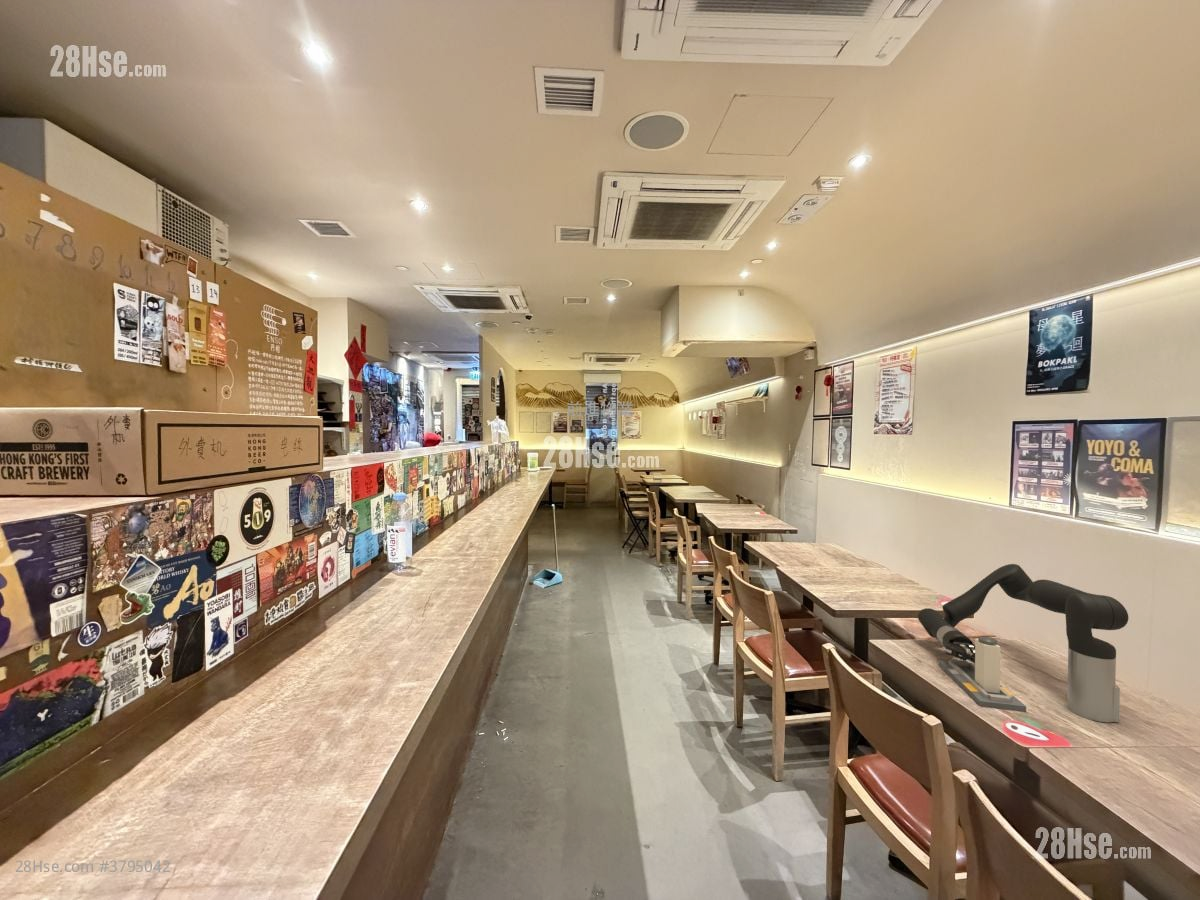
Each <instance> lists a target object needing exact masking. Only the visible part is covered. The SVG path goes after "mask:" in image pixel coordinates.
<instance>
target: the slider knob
mask: <svg viewBox="0 0 1200 900" xmlns="http://www.w3.org/2000/svg"><path fill="white" fill-rule="evenodd" d="M974 641H975V642H974V646H975V682H976V683H977V684H978V685H979V686H980V687H981V688H982V689H983V690H985V691H986V692H992V693H1000V685H1001V646H1000V645H998V640H997V639H996V638H993V637H990V636H986V635H985V636H984V635H979V636H978V637H977V638H975V639H974Z"/></svg>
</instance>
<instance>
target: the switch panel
mask: <svg viewBox="0 0 1200 900" xmlns="http://www.w3.org/2000/svg"><path fill="white" fill-rule="evenodd" d="M938 666H939V667H940V668H941V669H942V670H943V671H944V672H945V673H946V674H947V675H948V676H949V677H950V678H951V679H952V680H953V681H954V682H955V683H957V685H958V686H959V687H960V688H961V689H962V690H963V691H964V692H966V694H967V695H969V696H970V698H971V699H972V700H973V701H974V702H975V703H976V704H977V705H978V706H979V707H982V708H991V709H998V710H1000V709H1001V710H1008V711H1016V712H1025V713H1026V712H1027V705H1025V704H1024V703H1023V702H1021V701H1020V700H1019V699H1018V698H1017V697H1016V696H1014V694H1013V693H1011V692H1010V691H1009V690H1008V689H1007V688H1005V687H1004V686H1003V685H1001V684H1000V693H992V692H986V691H985V690H983V689H982V688H981V687H980V686H979V685H978V684H977V683H976V682H975V664H974V663H973V662H970V661H968V660H966V661H964V660H961V659H948V660H947V661H946V660H938Z"/></svg>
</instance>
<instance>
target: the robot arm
mask: <svg viewBox="0 0 1200 900" xmlns="http://www.w3.org/2000/svg"><path fill="white" fill-rule="evenodd" d="M997 584H998V586H999V587H1000V589H1002V590H1003V592H1004V593H1005V594H1006V595H1007V596H1008V597H1009V598H1012V599H1014V600H1018V601H1023V602H1027V603H1030V604H1033V605H1035V606H1037V607H1038V606H1039V607H1040V608H1043V609H1044V610H1048V611H1051V612H1054V613H1057V614H1063V615H1065V626H1066V627H1065V631H1066V638H1067V643H1068V645H1067V647H1068V648H1067V649H1068V650H1067V655H1068V656H1067V699H1066V701H1067V702H1066V703H1067V704H1066V705H1067V709H1068V710H1069V711H1070V712H1072V713H1074V714H1076V715H1078V716H1079V717H1082V718H1086V719H1087V720H1091V721H1096V722H1099V723H1120V700H1121V699H1120V698H1121V697H1120V694H1121V692H1120V691H1121V689H1120V688H1121V687H1120V686H1119V685H1117V683H1116V682H1117V681H1116V680H1117V679H1116V676H1117V675H1116V672H1117V671H1116V670H1117V669H1116V667H1117V666H1116V665H1117V663H1116V662H1117V649H1116V647H1115V646H1114V645H1113V644H1112V643H1109V642H1108V641H1105V640H1102V639H1100V638H1098V637H1095V636H1093V630H1101V631H1103V630H1104V631H1116V630H1120V629H1124V627H1126V626H1127V624H1128V621H1129V613H1128V610H1127V609H1126V608H1125V606H1124V605H1123V603H1121V602H1120V601H1119V600H1117V599H1116V598H1114V597H1112V596H1108V595H1103V594H1094V593H1091V592H1087V591H1083V590H1081V589H1077V588H1075V587H1071V586H1069V585H1066V584H1063V583H1060V582H1057V581H1053V580H1050V579H1037V580H1035V581H1033V580H1032V579H1031V578H1030V577H1029V575H1028V574H1027V573H1026V572H1025V570H1024V569H1023V568H1022V567H1021V566H1020V565H1018V564H1016V563H1011V564H1009V563H1008V564H1005V565H1003V566H1000V567H999V568H997V569H995V570H994V571H992V572H991V573H989V574H988V575H987V576H986V577H984V578H982V579H981V580H980V581H978V582H977V583H975V585H973V586H972V587H971V588H970V589H968V590H967V591H966V592H964V593H962V594H960V595H959V596H957V597H955V598H953V599H951V600H950V601H947V602H946V603H944V604H943V605H942V611H943V613H944V617H943V616H942V615H941V614H940V613H939V612H938V611H937V610H935V609H933V608H930V607H929V608H927V607H926V608H925V607H924V608H922V609H921V610H920V611H918V613H917V619H918V621H919V622H920V624H921V626H922V627H923V628H924V630H925V632H927V634H928V635H929V636H930V637H932V638H933V639H936V640H937V641H938V642H939V643H940V644H941V646H943V647H944V648H945V649H944V651H945V654H946V655H948V656H950V657H953V658H956V659H958V660H962V661H968V662H970V663H973V664H975V643H974V642H973V640H972V639H970V638H969V637H968V636H967V635H966V634H965V633H963V632H961V631H960V630H959V629H957V628H955V627H956V626H957V625H958V624H960V622H962V621H963V620H965V619H968V618H969V617H971V616H973V615H975V614H976V613H978V612H979V611H980V609H981V607H982V606H983V603H984V602H985V599H986V598H987V595H988V594H989V592H990V591H992V590H991V589H993V588H994V587H996V585H997Z"/></svg>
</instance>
